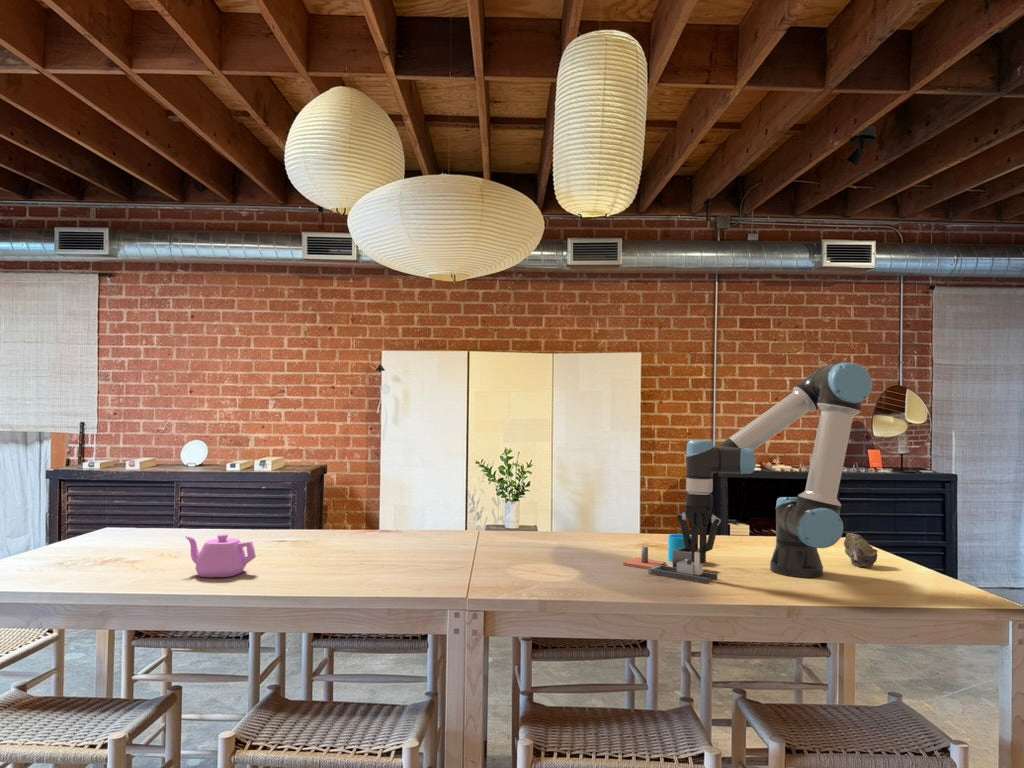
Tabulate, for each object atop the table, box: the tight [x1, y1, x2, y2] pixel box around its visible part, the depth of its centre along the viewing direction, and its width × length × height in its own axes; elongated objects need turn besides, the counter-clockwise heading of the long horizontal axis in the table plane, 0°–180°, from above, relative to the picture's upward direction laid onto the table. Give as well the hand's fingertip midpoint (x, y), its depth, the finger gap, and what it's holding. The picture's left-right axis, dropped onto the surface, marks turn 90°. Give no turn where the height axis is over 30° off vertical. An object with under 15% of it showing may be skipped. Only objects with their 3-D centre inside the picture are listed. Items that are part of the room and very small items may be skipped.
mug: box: [667, 533, 691, 563], centre depth 226 cm, size 12×8×8 cm
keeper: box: [622, 546, 667, 570], centre depth 218 cm, size 10×10×6 cm
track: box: [648, 565, 718, 585], centre depth 202 cm, size 18×8×2 cm, turn 52°
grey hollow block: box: [672, 547, 699, 568], centre depth 212 cm, size 6×8×6 cm
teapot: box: [184, 533, 257, 578], centre depth 195 cm, size 13×20×11 cm
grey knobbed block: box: [677, 559, 700, 576], centre depth 201 cm, size 5×5×5 cm
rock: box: [843, 532, 878, 568], centre depth 222 cm, size 11×10×10 cm
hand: (698, 574), depth 199 cm, fingers closed
